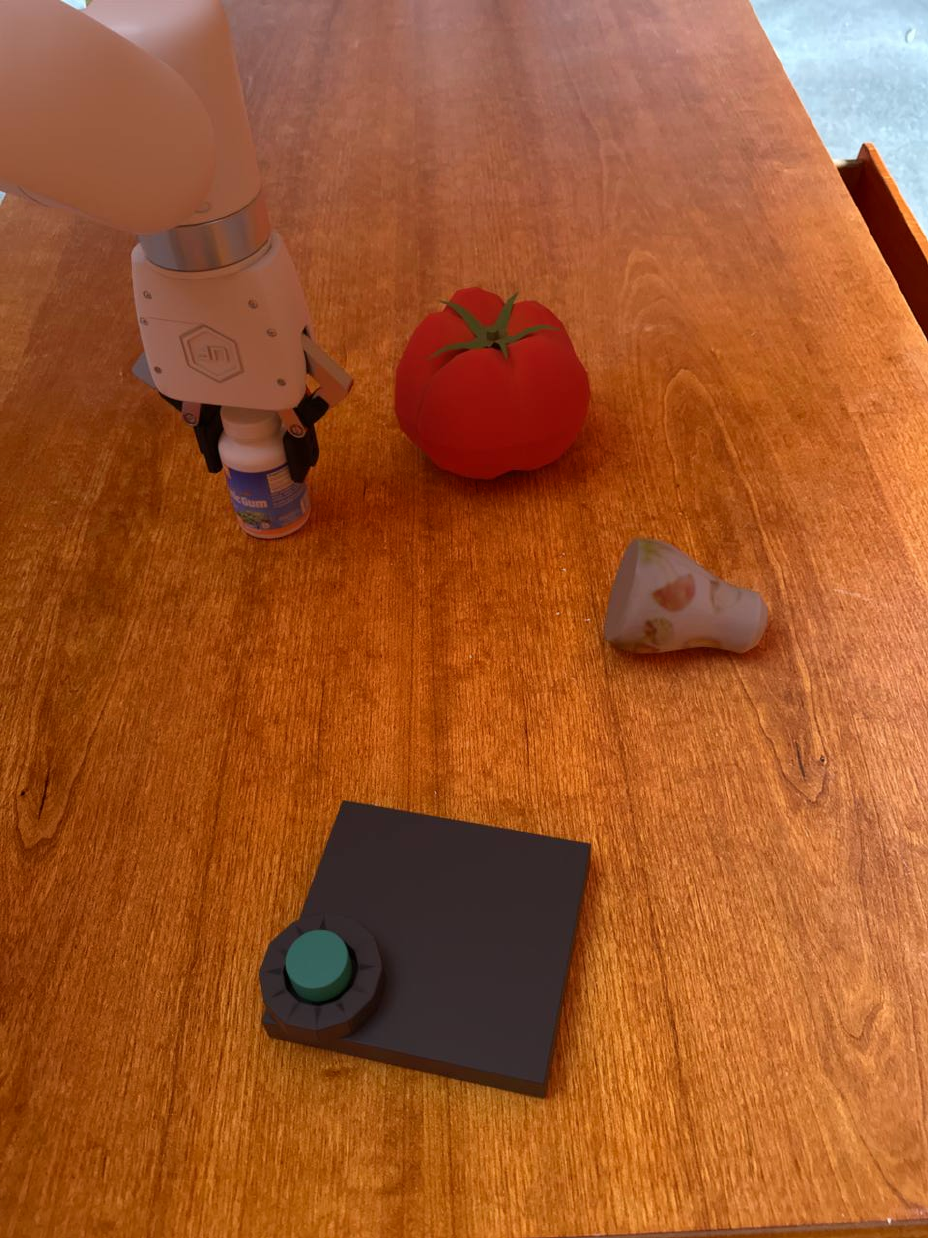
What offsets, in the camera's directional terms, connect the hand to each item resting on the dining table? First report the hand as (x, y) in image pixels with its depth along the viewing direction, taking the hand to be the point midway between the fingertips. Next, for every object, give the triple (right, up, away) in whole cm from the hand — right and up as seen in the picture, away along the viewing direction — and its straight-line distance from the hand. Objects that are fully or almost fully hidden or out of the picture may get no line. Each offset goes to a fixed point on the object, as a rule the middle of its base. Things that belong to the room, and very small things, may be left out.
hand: (262, 463), depth 79 cm
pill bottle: (0, -3, +4) cm, 5 cm away
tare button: (+7, -28, -24) cm, 37 cm away
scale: (+13, -28, -20) cm, 36 cm away
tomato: (+16, +2, +7) cm, 18 cm away
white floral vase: (+28, -12, -6) cm, 31 cm away
